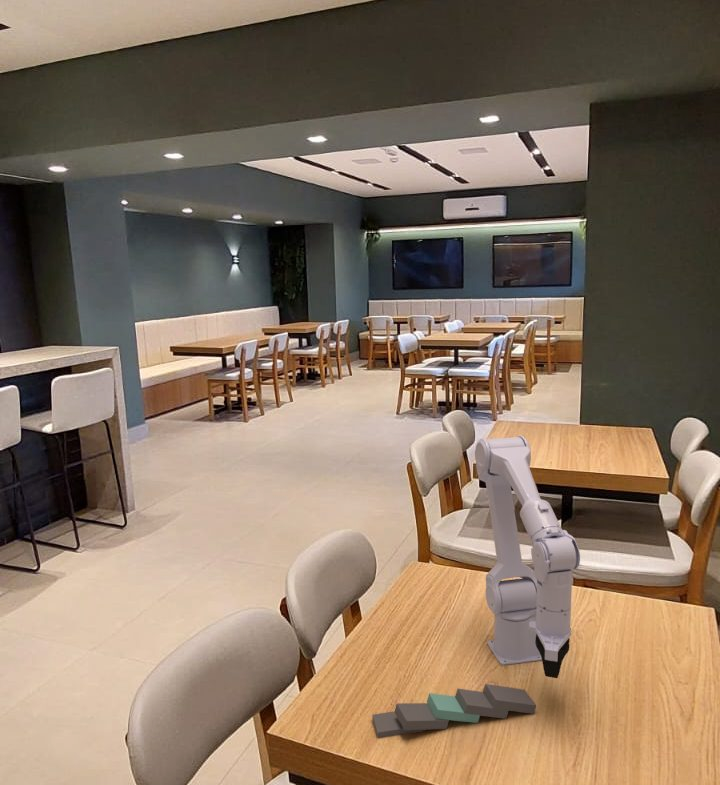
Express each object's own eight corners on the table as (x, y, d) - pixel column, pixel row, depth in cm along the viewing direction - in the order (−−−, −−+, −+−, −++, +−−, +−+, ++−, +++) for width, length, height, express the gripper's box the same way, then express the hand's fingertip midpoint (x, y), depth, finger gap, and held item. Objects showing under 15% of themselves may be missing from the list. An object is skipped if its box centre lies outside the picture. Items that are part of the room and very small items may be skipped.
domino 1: (417, 707, 107) (372, 714, 106) (424, 725, 103) (377, 732, 101) (417, 716, 107) (372, 722, 106) (424, 733, 103) (377, 741, 102)
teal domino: (470, 697, 109) (429, 693, 106) (480, 714, 104) (437, 709, 102) (467, 706, 109) (426, 701, 107) (477, 722, 104) (435, 718, 102)
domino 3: (497, 694, 109) (457, 688, 107) (508, 710, 105) (467, 704, 103) (495, 702, 110) (454, 696, 108) (505, 718, 105) (464, 713, 103)
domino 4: (524, 689, 110) (485, 683, 108) (536, 705, 106) (495, 699, 104) (521, 697, 111) (482, 692, 109) (533, 713, 106) (493, 708, 104)
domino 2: (437, 703, 107) (396, 703, 104) (449, 720, 103) (406, 721, 100) (435, 711, 107) (394, 711, 104) (446, 728, 103) (404, 729, 100)
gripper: (532, 581, 114) (530, 648, 116) (526, 621, 100) (524, 696, 103) (572, 586, 112) (570, 654, 114) (571, 628, 98) (569, 704, 100)
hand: (551, 675), depth 108 cm, fingers closed
